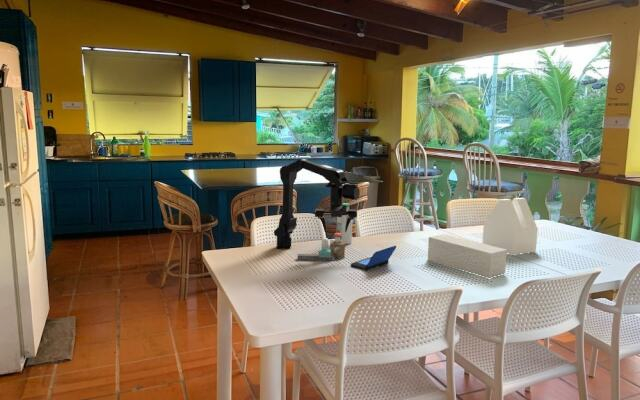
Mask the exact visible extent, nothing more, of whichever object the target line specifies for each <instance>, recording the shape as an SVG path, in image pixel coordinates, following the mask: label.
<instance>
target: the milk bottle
mask: <svg viewBox="0 0 640 400" xmlns="http://www.w3.org/2000/svg"><path fill="white" fill-rule="evenodd" d="M342 206H346V207H347V211H348V209H350V203H348V202H342ZM346 218H347V215H342V217H336V230H335V231H336V232H335V233H341V236H340V240H343V241H344V244H345V245H349V244H351V243H352V242H353V241H352V239H353V238H352V236H353V234H352V233H353V219H352V220H351V221H350V223H349V225H348V228H347V231H346V232H345V225H346Z"/></svg>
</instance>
